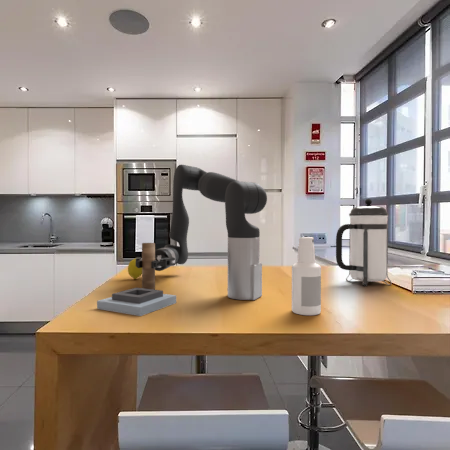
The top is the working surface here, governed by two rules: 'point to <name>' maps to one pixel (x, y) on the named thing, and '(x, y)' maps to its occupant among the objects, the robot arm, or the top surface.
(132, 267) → the lemon
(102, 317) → the top surface
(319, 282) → the spray bottle
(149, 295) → the socket
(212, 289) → the top surface
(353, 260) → the coffee press
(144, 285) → the peg
